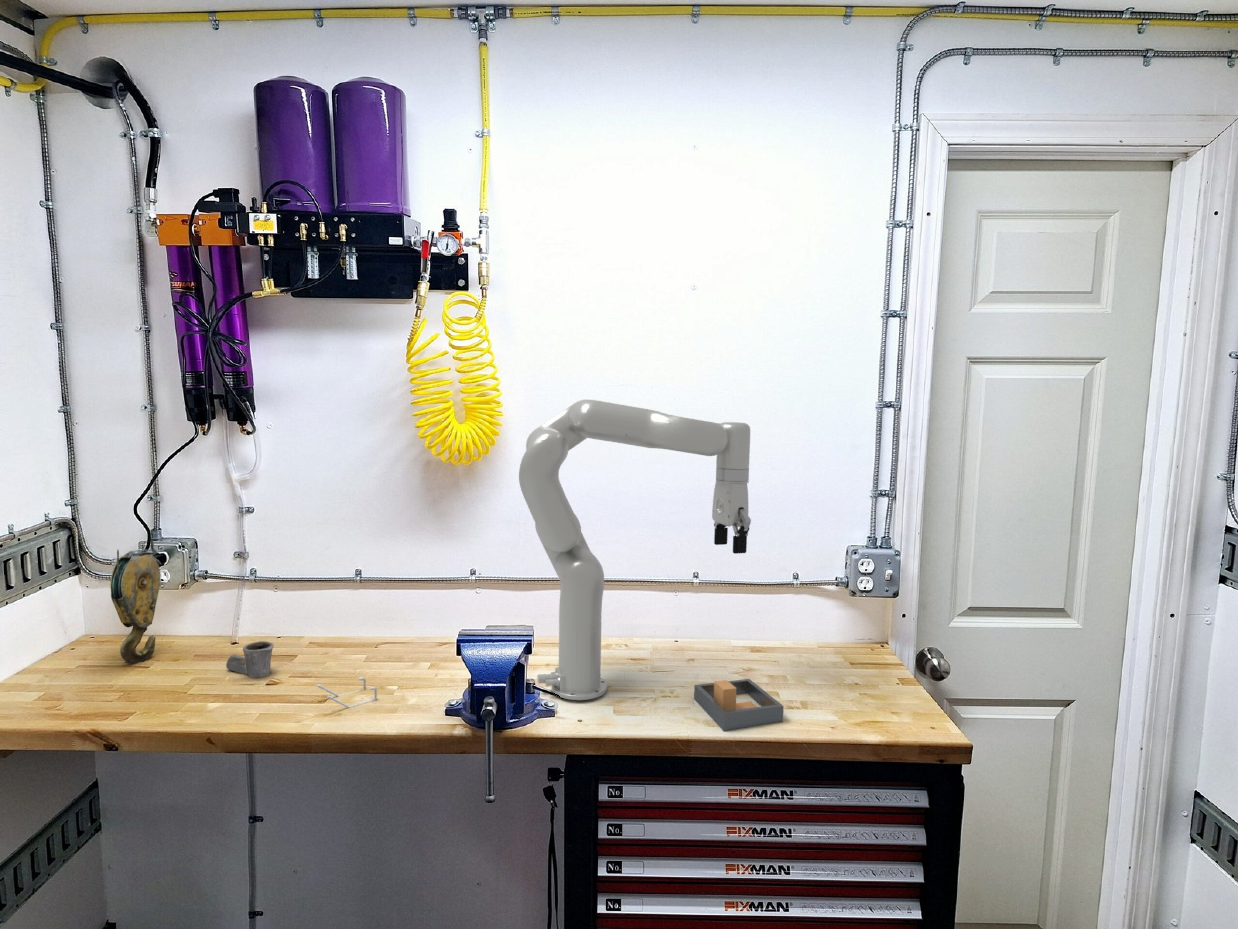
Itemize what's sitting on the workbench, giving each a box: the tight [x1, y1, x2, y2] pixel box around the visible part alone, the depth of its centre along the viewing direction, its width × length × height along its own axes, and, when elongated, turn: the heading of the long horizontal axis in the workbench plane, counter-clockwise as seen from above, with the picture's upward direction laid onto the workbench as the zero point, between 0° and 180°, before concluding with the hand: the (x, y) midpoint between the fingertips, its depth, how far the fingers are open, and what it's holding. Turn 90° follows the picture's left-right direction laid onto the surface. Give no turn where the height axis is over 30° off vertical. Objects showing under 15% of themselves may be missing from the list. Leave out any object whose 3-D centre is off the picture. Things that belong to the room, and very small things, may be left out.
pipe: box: [225, 640, 275, 679], centre depth 173 cm, size 6×13×8 cm, turn 71°
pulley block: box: [109, 539, 162, 665], centre depth 179 cm, size 14×6×30 cm, turn 179°
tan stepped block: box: [713, 679, 758, 711], centre depth 156 cm, size 9×4×7 cm, turn 108°
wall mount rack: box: [316, 677, 378, 709], centre depth 159 cm, size 12×11×4 cm
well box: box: [693, 678, 785, 732], centre depth 156 cm, size 14×15×5 cm
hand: (729, 548), depth 169 cm, fingers open, 9 cm apart
